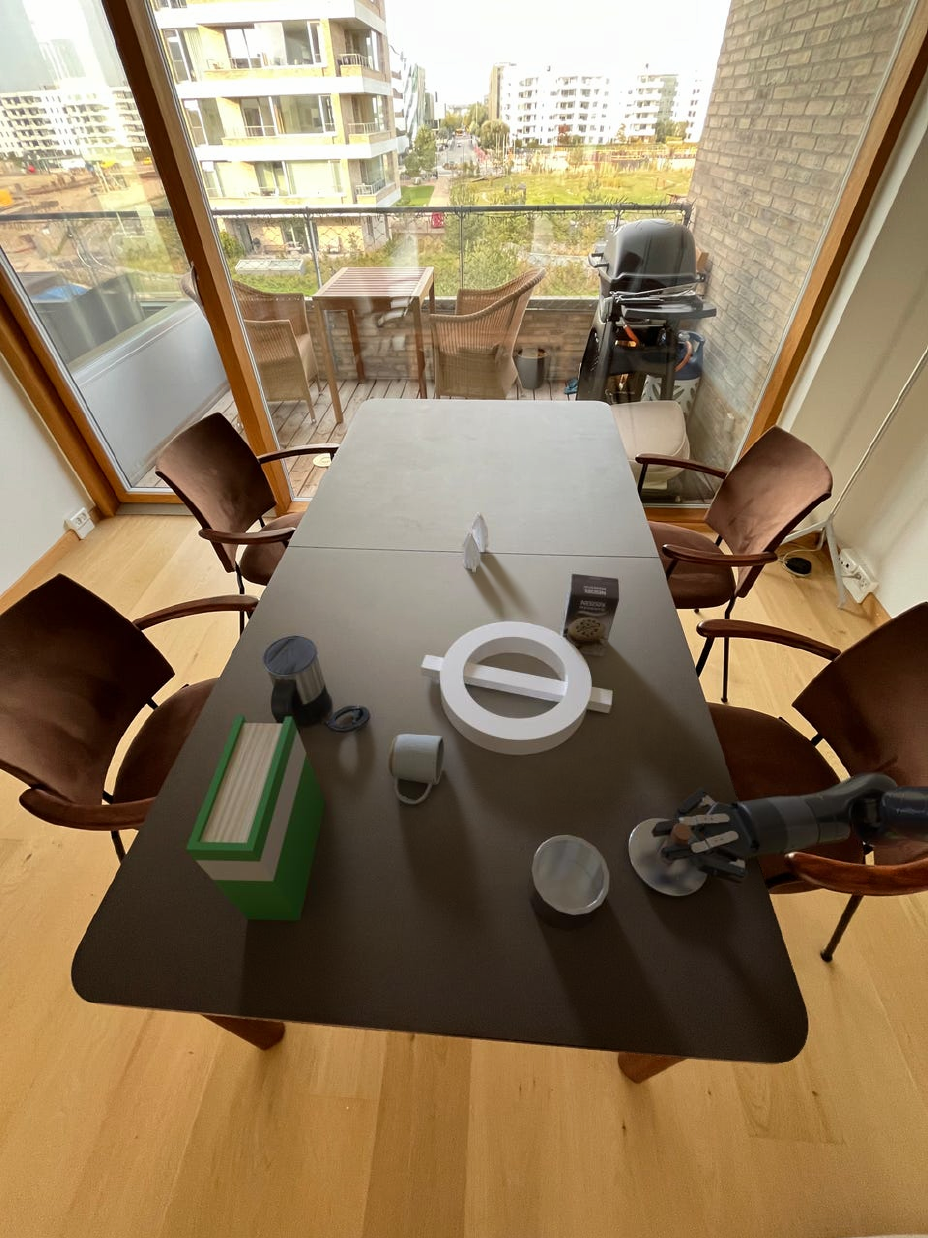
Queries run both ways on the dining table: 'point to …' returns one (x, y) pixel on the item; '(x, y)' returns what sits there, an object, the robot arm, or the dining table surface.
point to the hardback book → (261, 821)
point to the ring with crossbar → (516, 687)
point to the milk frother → (303, 687)
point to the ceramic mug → (416, 761)
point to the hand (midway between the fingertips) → (658, 842)
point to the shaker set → (475, 543)
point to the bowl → (568, 882)
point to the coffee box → (590, 612)
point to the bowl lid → (664, 860)
